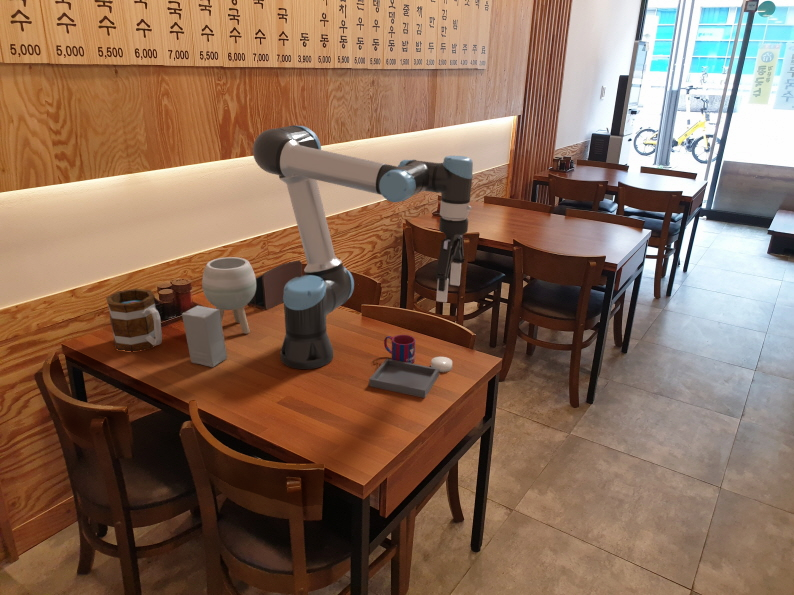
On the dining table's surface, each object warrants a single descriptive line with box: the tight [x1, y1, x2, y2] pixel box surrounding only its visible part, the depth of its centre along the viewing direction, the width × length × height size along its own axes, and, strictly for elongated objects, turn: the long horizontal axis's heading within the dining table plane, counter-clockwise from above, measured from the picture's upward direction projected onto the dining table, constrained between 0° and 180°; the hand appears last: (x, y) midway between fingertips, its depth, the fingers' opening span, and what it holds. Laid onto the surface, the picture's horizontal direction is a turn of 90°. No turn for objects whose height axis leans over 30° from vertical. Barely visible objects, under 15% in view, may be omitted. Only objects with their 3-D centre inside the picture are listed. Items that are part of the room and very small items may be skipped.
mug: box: [105, 288, 163, 353], centre depth 172 cm, size 20×14×15 cm
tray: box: [368, 358, 440, 399], centre depth 158 cm, size 16×13×2 cm
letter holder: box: [246, 260, 303, 311], centre depth 209 cm, size 10×20×14 cm, turn 147°
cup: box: [383, 334, 416, 364], centre depth 169 cm, size 7×10×7 cm
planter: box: [201, 256, 257, 335], centre depth 183 cm, size 16×16×22 cm
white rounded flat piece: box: [430, 356, 453, 373], centre depth 166 cm, size 6×6×2 cm
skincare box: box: [181, 305, 228, 368], centre depth 163 cm, size 8×7×16 cm
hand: (448, 292), depth 160 cm, fingers open, 13 cm apart
